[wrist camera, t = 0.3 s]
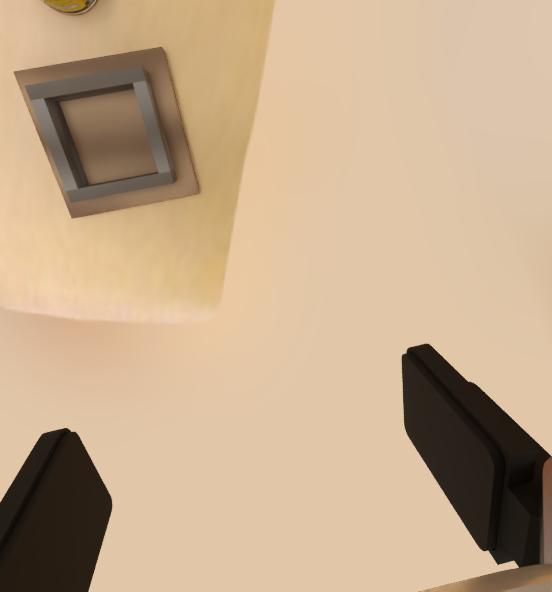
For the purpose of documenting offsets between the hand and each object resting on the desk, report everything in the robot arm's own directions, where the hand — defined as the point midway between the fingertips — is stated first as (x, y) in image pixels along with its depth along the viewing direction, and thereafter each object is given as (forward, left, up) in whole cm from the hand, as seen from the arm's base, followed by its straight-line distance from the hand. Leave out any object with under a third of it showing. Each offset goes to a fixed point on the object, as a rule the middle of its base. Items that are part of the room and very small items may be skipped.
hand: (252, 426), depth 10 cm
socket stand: (-9, -8, -30) cm, 33 cm away
